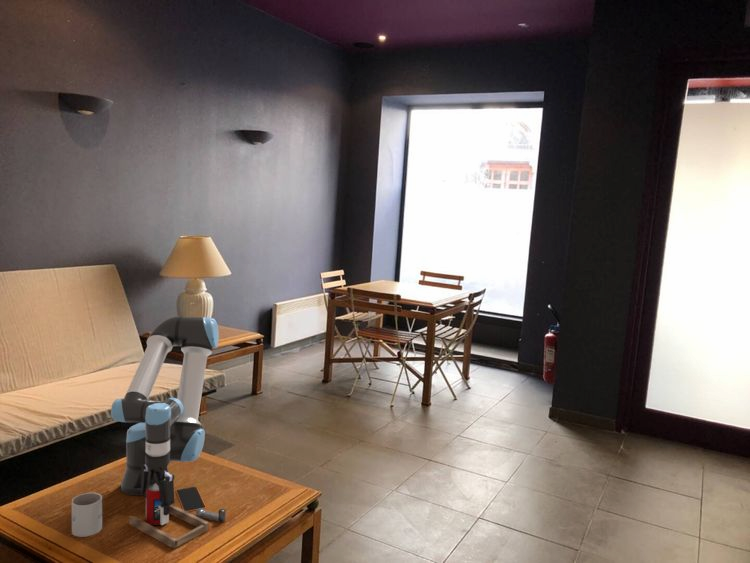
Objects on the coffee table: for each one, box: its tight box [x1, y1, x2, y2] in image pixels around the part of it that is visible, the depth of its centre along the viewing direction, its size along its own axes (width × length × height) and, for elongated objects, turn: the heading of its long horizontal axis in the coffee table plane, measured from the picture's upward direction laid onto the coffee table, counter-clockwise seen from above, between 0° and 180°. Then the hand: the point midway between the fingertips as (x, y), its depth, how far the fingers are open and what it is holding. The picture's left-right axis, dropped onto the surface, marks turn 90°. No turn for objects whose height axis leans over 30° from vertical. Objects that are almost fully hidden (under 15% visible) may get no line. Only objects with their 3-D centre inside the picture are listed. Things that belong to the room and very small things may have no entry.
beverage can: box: [145, 483, 166, 526], centre depth 190 cm, size 7×7×12 cm
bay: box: [129, 504, 210, 549], centre depth 188 cm, size 22×13×2 cm, turn 57°
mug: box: [71, 492, 103, 538], centre depth 185 cm, size 12×9×10 cm
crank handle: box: [195, 508, 227, 523], centre depth 194 cm, size 11×3×4 cm, turn 72°
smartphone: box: [175, 486, 207, 513], centre depth 206 cm, size 8×17×1 cm, turn 28°
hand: (157, 519), depth 191 cm, fingers closed on beverage can, 7 cm apart
